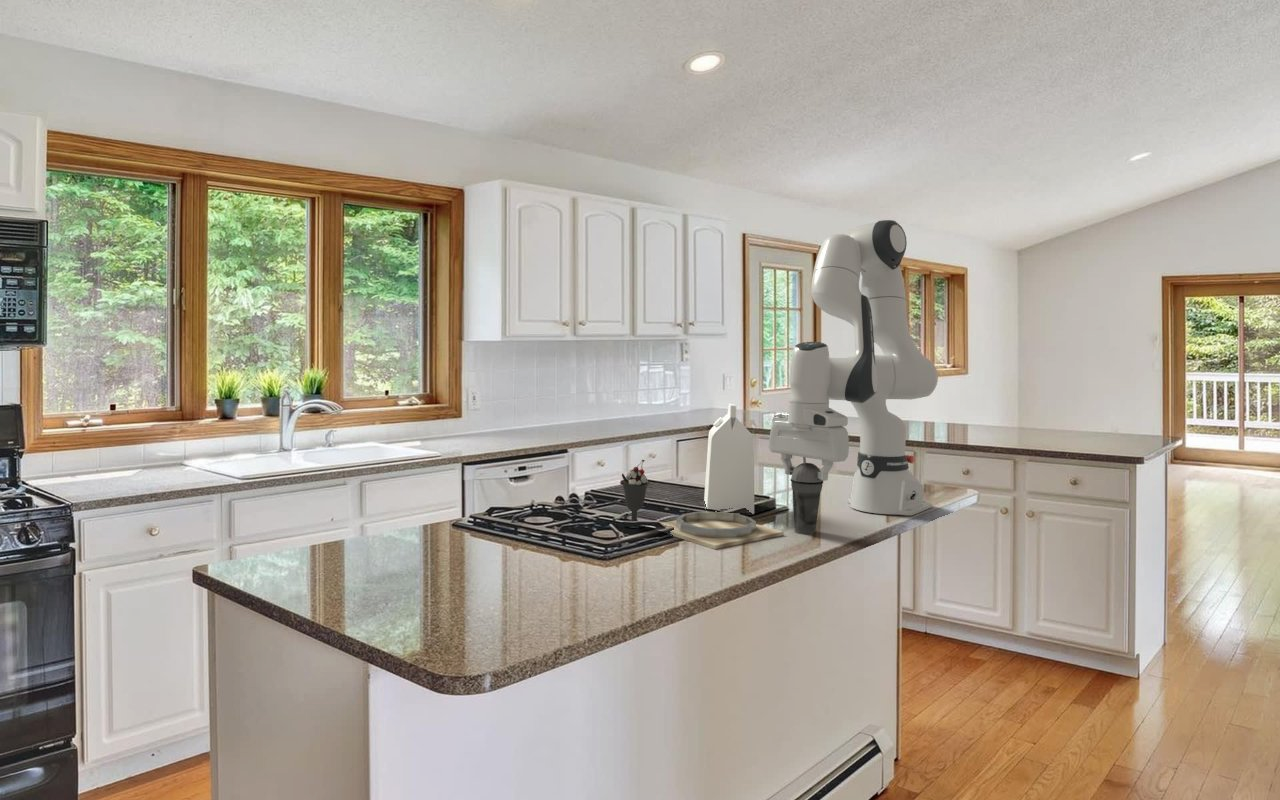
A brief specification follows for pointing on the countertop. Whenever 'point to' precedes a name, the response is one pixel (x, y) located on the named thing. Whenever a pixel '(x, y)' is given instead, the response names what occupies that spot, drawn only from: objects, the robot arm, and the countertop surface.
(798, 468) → the beverage cup
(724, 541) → the ring seat
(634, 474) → the sundae
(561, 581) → the countertop surface
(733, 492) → the milk
